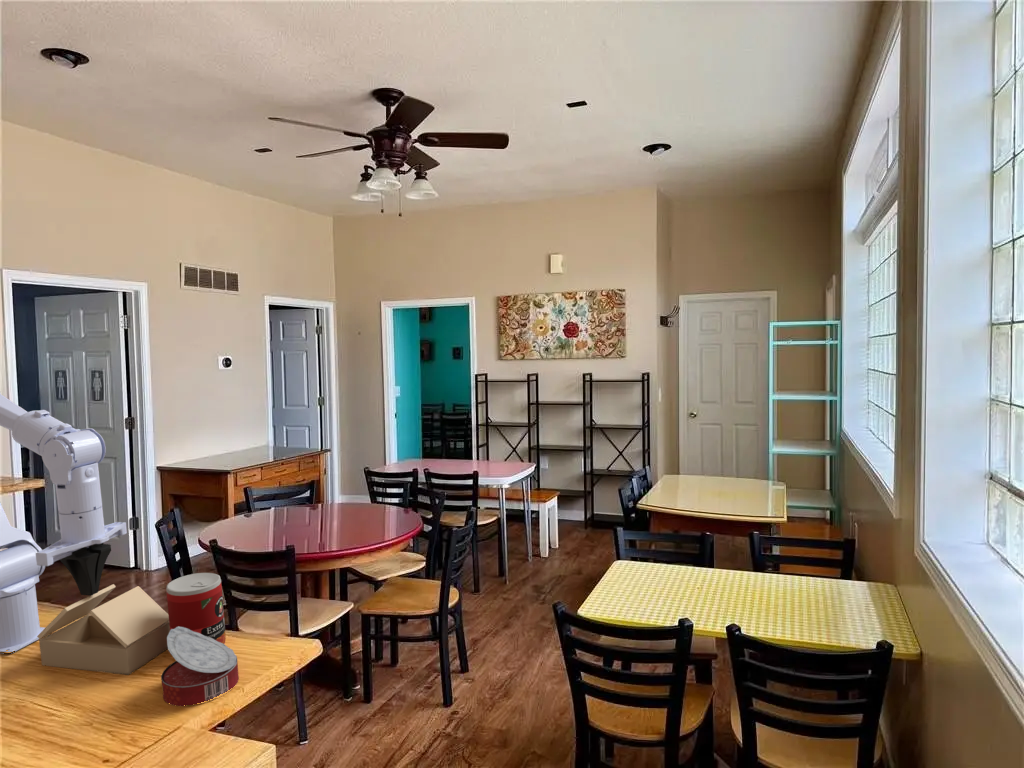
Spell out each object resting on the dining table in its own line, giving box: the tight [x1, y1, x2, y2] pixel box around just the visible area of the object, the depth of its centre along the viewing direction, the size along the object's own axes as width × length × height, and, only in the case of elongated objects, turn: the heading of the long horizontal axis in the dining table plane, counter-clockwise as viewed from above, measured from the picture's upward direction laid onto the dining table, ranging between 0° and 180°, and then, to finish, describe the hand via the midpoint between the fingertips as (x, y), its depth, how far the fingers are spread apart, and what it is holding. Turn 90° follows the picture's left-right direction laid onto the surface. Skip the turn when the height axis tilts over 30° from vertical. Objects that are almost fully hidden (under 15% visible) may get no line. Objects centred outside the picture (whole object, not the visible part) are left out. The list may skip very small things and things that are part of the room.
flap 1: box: [37, 583, 116, 640], centre depth 105 cm, size 8×9×1 cm
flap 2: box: [89, 585, 169, 648], centre depth 103 cm, size 8×9×1 cm
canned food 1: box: [165, 572, 227, 645], centre depth 105 cm, size 8×8×11 cm
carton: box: [38, 613, 170, 676], centre depth 104 cm, size 16×9×4 cm, turn 76°
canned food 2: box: [160, 626, 240, 707], centre depth 95 cm, size 11×10×10 cm
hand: (89, 593), depth 104 cm, fingers closed
